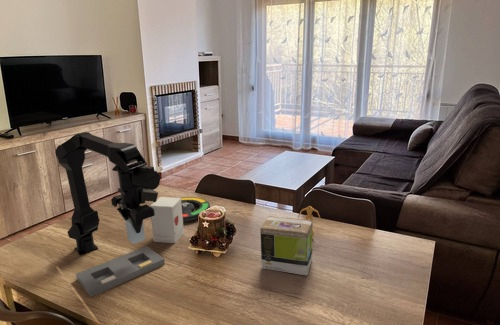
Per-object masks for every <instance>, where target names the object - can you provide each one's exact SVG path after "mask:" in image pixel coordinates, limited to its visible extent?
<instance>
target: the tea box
mask: <svg viewBox="0 0 500 325" xmlns="http://www.w3.org/2000/svg"><path fill="white" fill-rule="evenodd" d="M259 229H260V230H259V231H260V258H261V260H260V262H261V269H263V270H271V271H277V272H284V273H290V274H294V275H295V274H296V275H299V276H300V275H301V276H306V277H307V276H308V274H309V271H310V267H311V265H312V261H313V237H312V229H313V221H312V220H310V219H308V220H306V219H305V218H304V219H302V218H292V217H285V216H284V217H283V216H273V215H269V216H268V217H267V218H266V220H265V221H264V222H263V224H262V225H261V226H260V228H259ZM313 230H314V229H313Z"/></svg>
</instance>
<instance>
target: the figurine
mask: <svg viewBox="0 0 500 325" xmlns="http://www.w3.org/2000/svg"><path fill="white" fill-rule="evenodd" d="M303 211H306V213H307V214H306V215H305V220H312V222H313V221H314V220H313V219H314V218H313V217H314V216H313V214H312V213H313V211H314V212H316V213H317V217H318V220H319V221H321V215H320V214H319V211H318V210H317V209H315V208H314V207H312V206H311V205H308V206H307V207H305V208H302V209H301V210H300V212H299V214H298V216H297V219H300V215H301V214H302V212H303ZM314 235H315V231H314V229H312V238H313V237H314Z"/></svg>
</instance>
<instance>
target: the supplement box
mask: <svg viewBox="0 0 500 325" xmlns="http://www.w3.org/2000/svg"><path fill="white" fill-rule="evenodd" d="M181 198H182V197H167V196H166V197H165V196H162V197H161V196H160V197H159V198H157V201H156V202H153V203H152V204H151V205H149V206H150V207H152V208H153V209H154V210H155V215H154V216H152V217H150V219H151V221H150V222H151V230H152V238H153V240H152V241H153V242H154V243H155V242H156V243H166V244H167V243H168V244H177V242H178V241H179V240H180V238H181V237H183V235H185V234H184V233H185V232H184V222H183V217H182V205H181Z"/></svg>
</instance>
